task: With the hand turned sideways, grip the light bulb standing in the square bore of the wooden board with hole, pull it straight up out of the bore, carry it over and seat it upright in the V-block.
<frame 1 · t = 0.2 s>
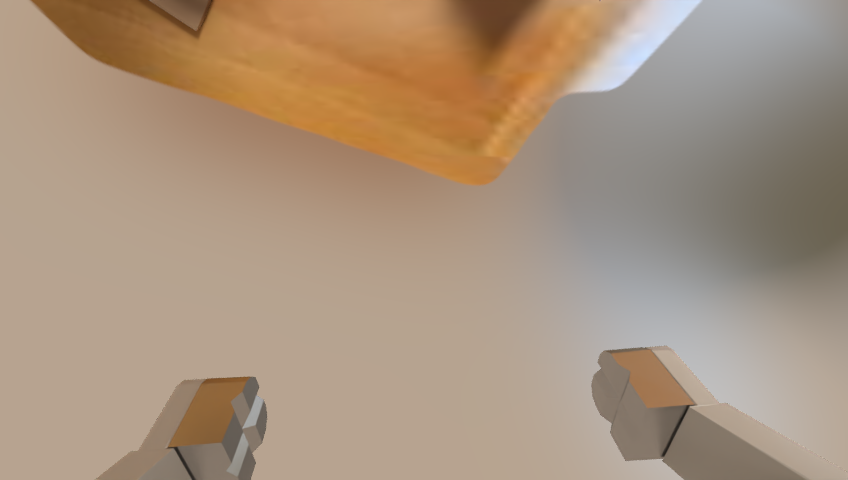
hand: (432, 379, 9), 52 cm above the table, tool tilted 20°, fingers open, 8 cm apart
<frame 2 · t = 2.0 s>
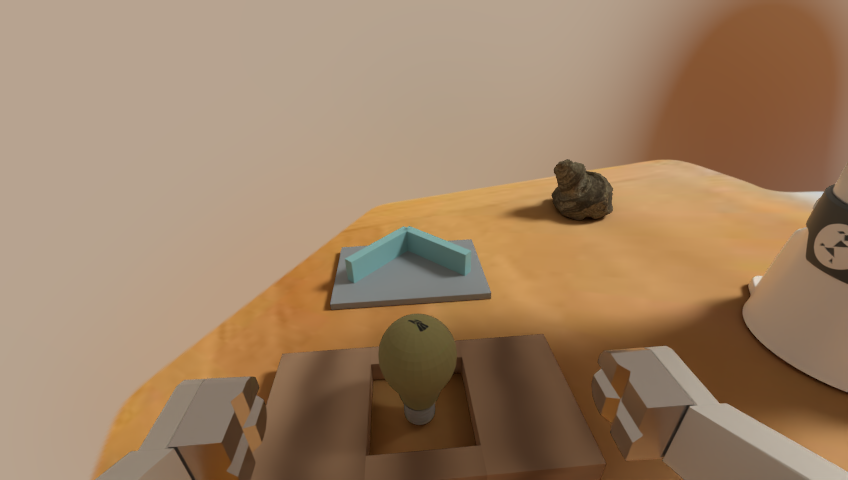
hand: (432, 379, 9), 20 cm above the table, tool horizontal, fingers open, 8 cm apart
wooden board with hole: (420, 416, 31), on the table
light bulb: (420, 418, 31), resting in wooden board with hole
seashell: (589, 212, 62), on the table
V-block: (409, 273, 48), on the table
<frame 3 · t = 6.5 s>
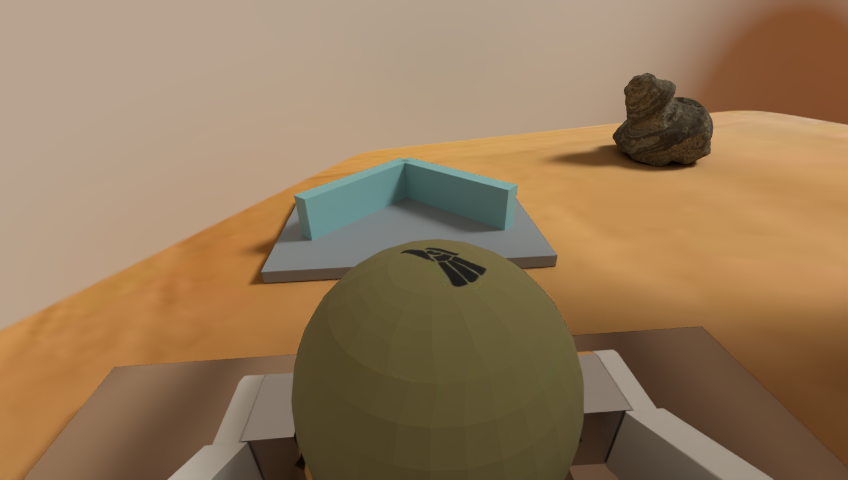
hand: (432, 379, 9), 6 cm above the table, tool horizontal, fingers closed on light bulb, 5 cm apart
seashell: (670, 159, 43), on the table
V-block: (408, 228, 29), on the table
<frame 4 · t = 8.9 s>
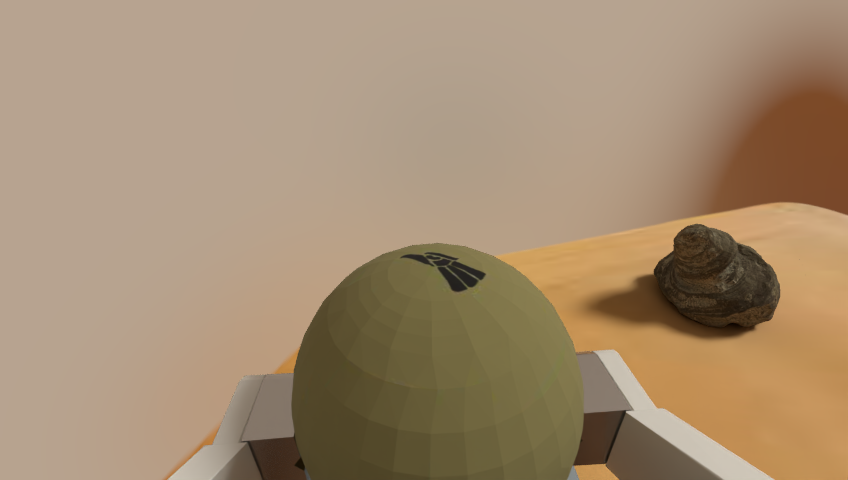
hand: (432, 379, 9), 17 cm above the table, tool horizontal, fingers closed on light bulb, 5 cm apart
seashell: (723, 307, 37), on the table
when the fingers open (8 cm above the table, at t = 11.6 s): light bulb stays where it is, resting on V-block.
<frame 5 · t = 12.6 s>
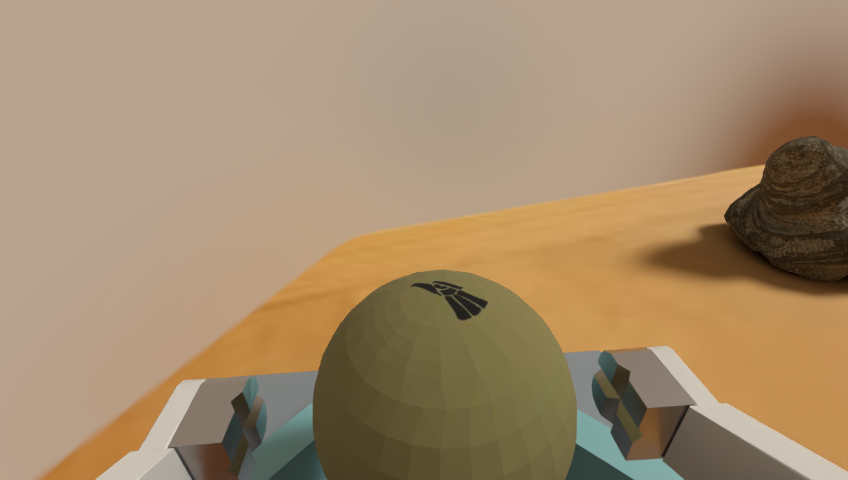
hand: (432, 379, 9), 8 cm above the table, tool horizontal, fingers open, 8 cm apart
seashell: (823, 259, 28), on the table
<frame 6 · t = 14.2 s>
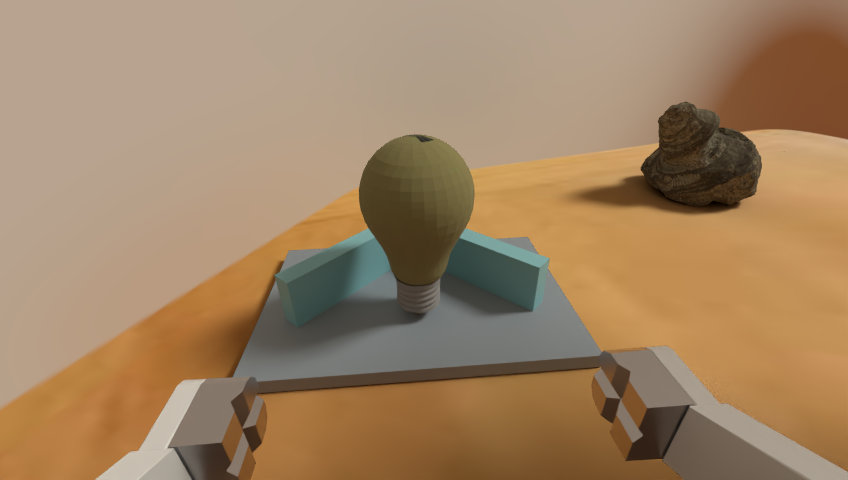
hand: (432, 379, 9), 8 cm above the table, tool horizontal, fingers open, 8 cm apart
light bulb: (419, 311, 22), point 1 cm above the table, touching V-block
seashell: (708, 195, 38), on the table
V-block: (415, 302, 24), on the table
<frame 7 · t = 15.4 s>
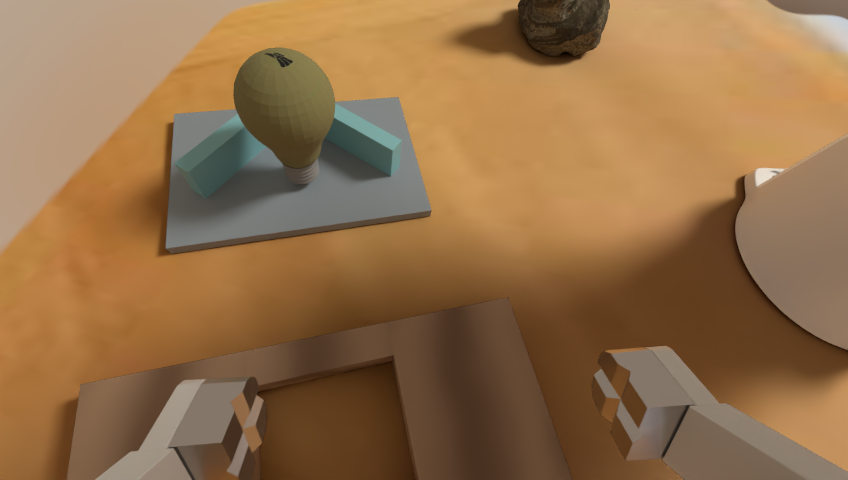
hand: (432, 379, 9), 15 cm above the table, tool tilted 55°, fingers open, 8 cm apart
wooden board with hole: (336, 449, 21), on the table
light bulb: (305, 178, 29), point 1 cm above the table, touching V-block
seashell: (566, 40, 43), on the table
V-block: (301, 167, 30), on the table
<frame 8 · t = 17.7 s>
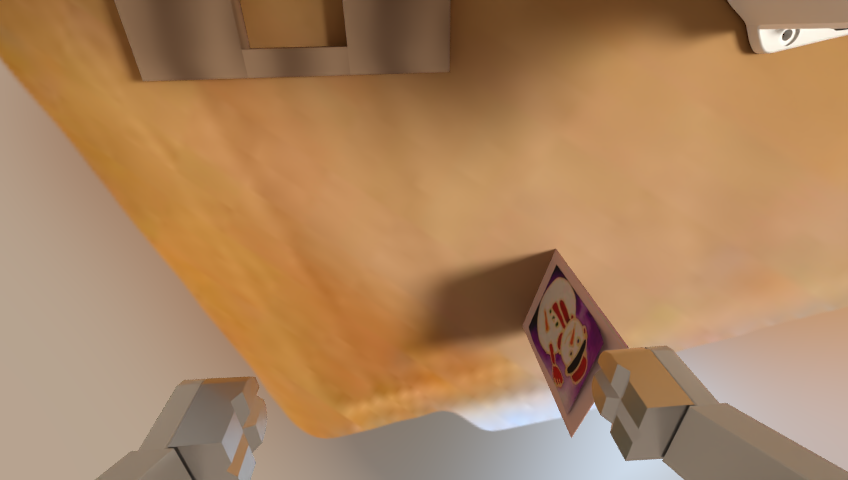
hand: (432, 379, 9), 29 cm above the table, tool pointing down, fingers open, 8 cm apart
greeting card: (559, 291, 46), on the table
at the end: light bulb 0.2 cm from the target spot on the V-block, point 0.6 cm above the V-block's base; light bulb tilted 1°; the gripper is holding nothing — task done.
